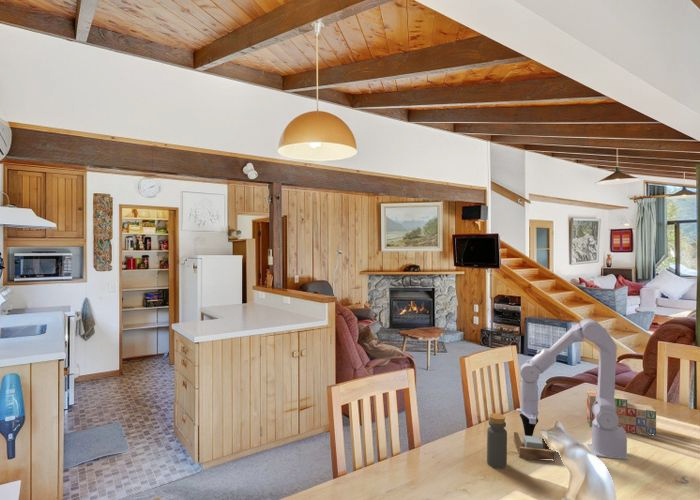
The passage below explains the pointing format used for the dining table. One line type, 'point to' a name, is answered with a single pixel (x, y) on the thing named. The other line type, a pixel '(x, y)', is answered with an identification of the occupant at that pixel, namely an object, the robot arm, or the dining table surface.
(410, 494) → the dining table surface
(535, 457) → the holder
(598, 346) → the robot arm
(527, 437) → the block
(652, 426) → the stack of blocks
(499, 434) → the bottle
